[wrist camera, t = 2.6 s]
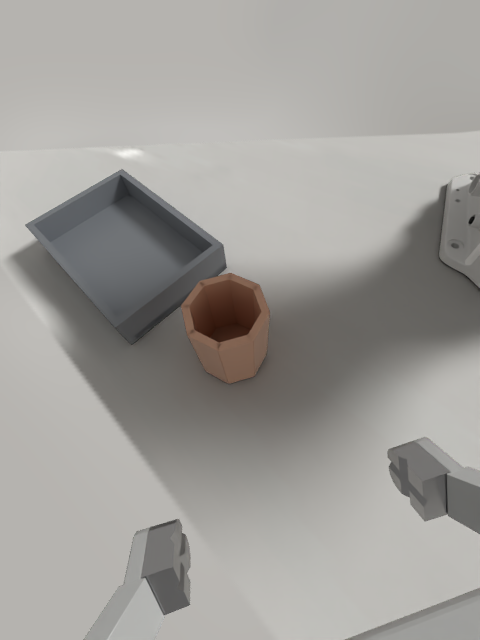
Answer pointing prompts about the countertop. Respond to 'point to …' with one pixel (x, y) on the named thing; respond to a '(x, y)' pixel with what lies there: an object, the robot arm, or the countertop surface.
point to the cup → (228, 326)
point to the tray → (129, 251)
